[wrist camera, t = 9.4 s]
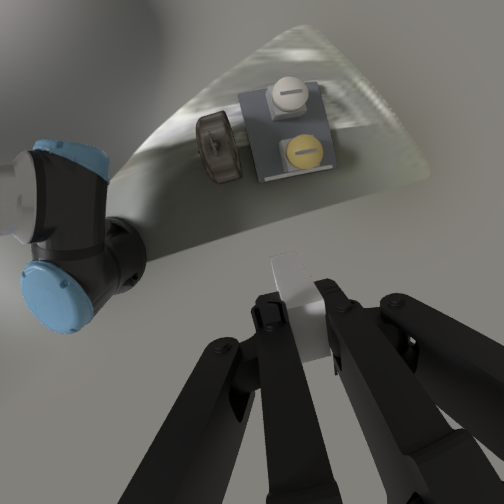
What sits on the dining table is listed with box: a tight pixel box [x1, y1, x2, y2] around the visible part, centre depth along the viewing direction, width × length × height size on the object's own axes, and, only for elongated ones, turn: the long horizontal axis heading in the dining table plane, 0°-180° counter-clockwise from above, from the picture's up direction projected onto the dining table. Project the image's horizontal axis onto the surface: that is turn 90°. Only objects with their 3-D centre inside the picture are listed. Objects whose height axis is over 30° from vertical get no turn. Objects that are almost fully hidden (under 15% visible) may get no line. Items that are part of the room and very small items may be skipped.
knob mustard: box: [285, 134, 323, 169], centre depth 41 cm, size 5×5×8 cm
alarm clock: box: [196, 111, 243, 184], centre depth 39 cm, size 11×5×16 cm, turn 14°
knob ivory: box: [271, 77, 309, 112], centre depth 39 cm, size 5×5×8 cm
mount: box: [238, 82, 338, 183], centre depth 43 cm, size 14×16×7 cm
